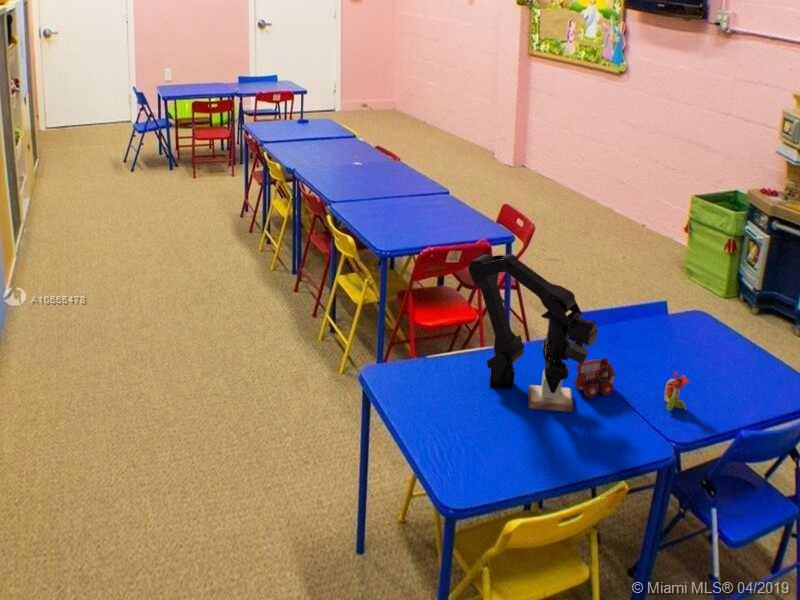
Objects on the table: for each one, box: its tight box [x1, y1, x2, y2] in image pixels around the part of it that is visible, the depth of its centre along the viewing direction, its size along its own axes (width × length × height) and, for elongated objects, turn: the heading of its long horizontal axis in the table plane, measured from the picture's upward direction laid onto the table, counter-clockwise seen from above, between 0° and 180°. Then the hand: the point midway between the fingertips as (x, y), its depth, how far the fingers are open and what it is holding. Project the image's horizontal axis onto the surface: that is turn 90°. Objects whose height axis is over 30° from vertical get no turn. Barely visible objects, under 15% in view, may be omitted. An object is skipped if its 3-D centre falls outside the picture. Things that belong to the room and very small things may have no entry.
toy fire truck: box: [573, 357, 616, 399], centre depth 243 cm, size 7×12×10 cm, turn 110°
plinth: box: [527, 384, 574, 413], centre depth 239 cm, size 12×9×2 cm
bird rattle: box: [664, 371, 691, 412], centre depth 237 cm, size 6×11×9 cm
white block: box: [540, 369, 563, 399], centre depth 237 cm, size 5×5×6 cm
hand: (552, 384), depth 237 cm, fingers open, 9 cm apart
